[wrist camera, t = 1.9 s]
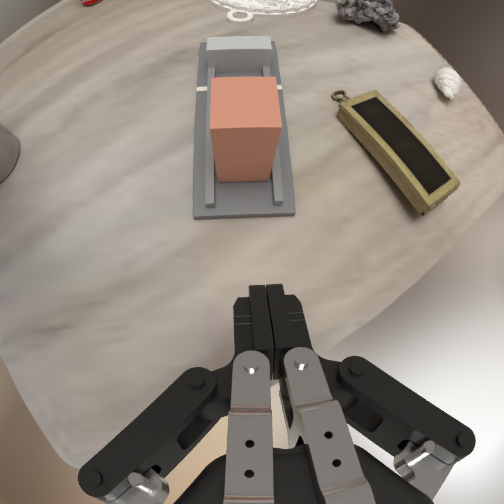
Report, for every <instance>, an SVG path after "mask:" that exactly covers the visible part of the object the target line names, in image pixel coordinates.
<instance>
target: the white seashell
mask: <svg viewBox="0 0 504 504" xmlns="http://www.w3.org/2000/svg"><path fill="white" fill-rule="evenodd" d="M434 81H435V84H436V86H437V87H438V89H439V90H440V91H441V92H443V93H444V95H445V96H446V97H448V98H450V99H451V100H453V98H454V96H455V95H456V94H457V93H458V91H459V89H460V85H461V81H460V77H459V75H458V74H457V73H456V72H455V71H454V70H453V69H451V68H441V69H440V70H438V71H437V72H436V73H435V75H434Z"/></svg>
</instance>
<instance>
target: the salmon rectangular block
mask: <svg viewBox="0 0 504 504" xmlns="http://www.w3.org/2000/svg"><path fill="white" fill-rule="evenodd" d="M281 129H282V123H281V114H280V106H279V98H278V90H277V82H276V77H217V78H211V104H210V132H211V139H212V146H213V153H214V159H215V166H216V173H217V179H218V183H219V182H246V181H269V177H270V173H271V169H272V165H273V161H274V157H275V153H276V149H277V145H278V141H279V137H280V133H281Z"/></svg>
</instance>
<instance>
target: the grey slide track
mask: <svg viewBox="0 0 504 504" xmlns="http://www.w3.org/2000/svg"><path fill="white" fill-rule="evenodd" d="M217 77H276V82H277V90H278V98H279V106H280V114H281V123H282V129H281V133H280V137H279V141H278V145H277V149H276V153H275V157H274V161H273V165H272V169H271V173H270V177H269V181H246V182H219V183H218V179H217V173H216V166H215V159H214V153H213V146H212V139H211V132H210V104H211V78H217ZM295 213H296V211H295V200H294V190H293V179H292V170H291V160H290V151H289V142H288V134H287V126H286V117H285V110H284V102H283V95H282V85H281V80H280V73H279V66H278V60H277V53H276V47H275V42H274V41H271V40H270V37H266V36H233V37H210V38H207V43H200V54H199V67H198V81H197V97H196V115H195V139H194V175H193V217H194V219H213V218H236V217H266V216H294V215H295Z"/></svg>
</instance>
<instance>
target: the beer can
mask: <svg viewBox="0 0 504 504" xmlns="http://www.w3.org/2000/svg"><path fill="white" fill-rule="evenodd" d="M100 1H101V0H81V2H82V4H83V5H87V6H90V5H94V4H96V3H98V2H100Z"/></svg>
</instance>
